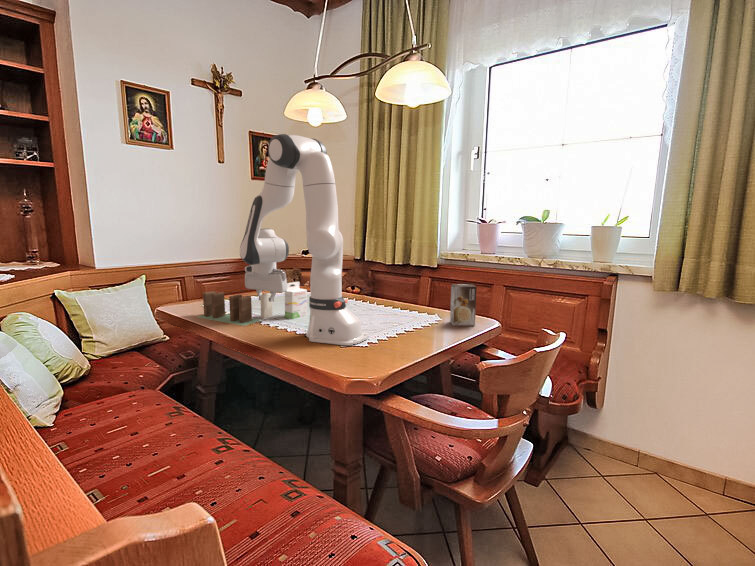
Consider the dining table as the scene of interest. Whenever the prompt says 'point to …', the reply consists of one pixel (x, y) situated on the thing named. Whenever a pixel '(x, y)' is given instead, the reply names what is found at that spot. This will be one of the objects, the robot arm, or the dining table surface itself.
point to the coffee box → (463, 304)
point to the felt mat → (227, 320)
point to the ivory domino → (266, 306)
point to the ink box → (295, 301)
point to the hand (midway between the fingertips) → (266, 301)
